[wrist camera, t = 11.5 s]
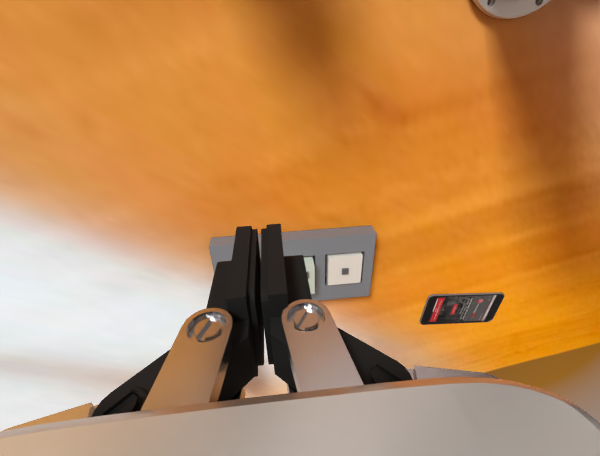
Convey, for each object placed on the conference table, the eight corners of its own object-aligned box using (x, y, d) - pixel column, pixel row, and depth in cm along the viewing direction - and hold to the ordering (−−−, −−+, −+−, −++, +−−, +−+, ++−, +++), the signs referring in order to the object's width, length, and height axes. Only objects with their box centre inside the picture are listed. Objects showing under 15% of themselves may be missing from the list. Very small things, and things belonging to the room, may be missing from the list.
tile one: (358, 246, 47) (363, 256, 45) (356, 273, 50) (360, 283, 48) (325, 249, 47) (328, 259, 45) (325, 275, 49) (328, 286, 47)
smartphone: (429, 295, 54) (505, 293, 56) (428, 293, 55) (503, 291, 57) (419, 324, 58) (491, 321, 60) (417, 322, 59) (489, 319, 60)
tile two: (312, 256, 45) (314, 267, 43) (312, 283, 48) (315, 294, 46) (277, 259, 45) (278, 270, 43) (279, 286, 48) (280, 298, 45)
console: (371, 225, 46) (376, 233, 44) (365, 286, 52) (369, 295, 50) (211, 237, 44) (208, 246, 42) (223, 299, 50) (222, 309, 48)
